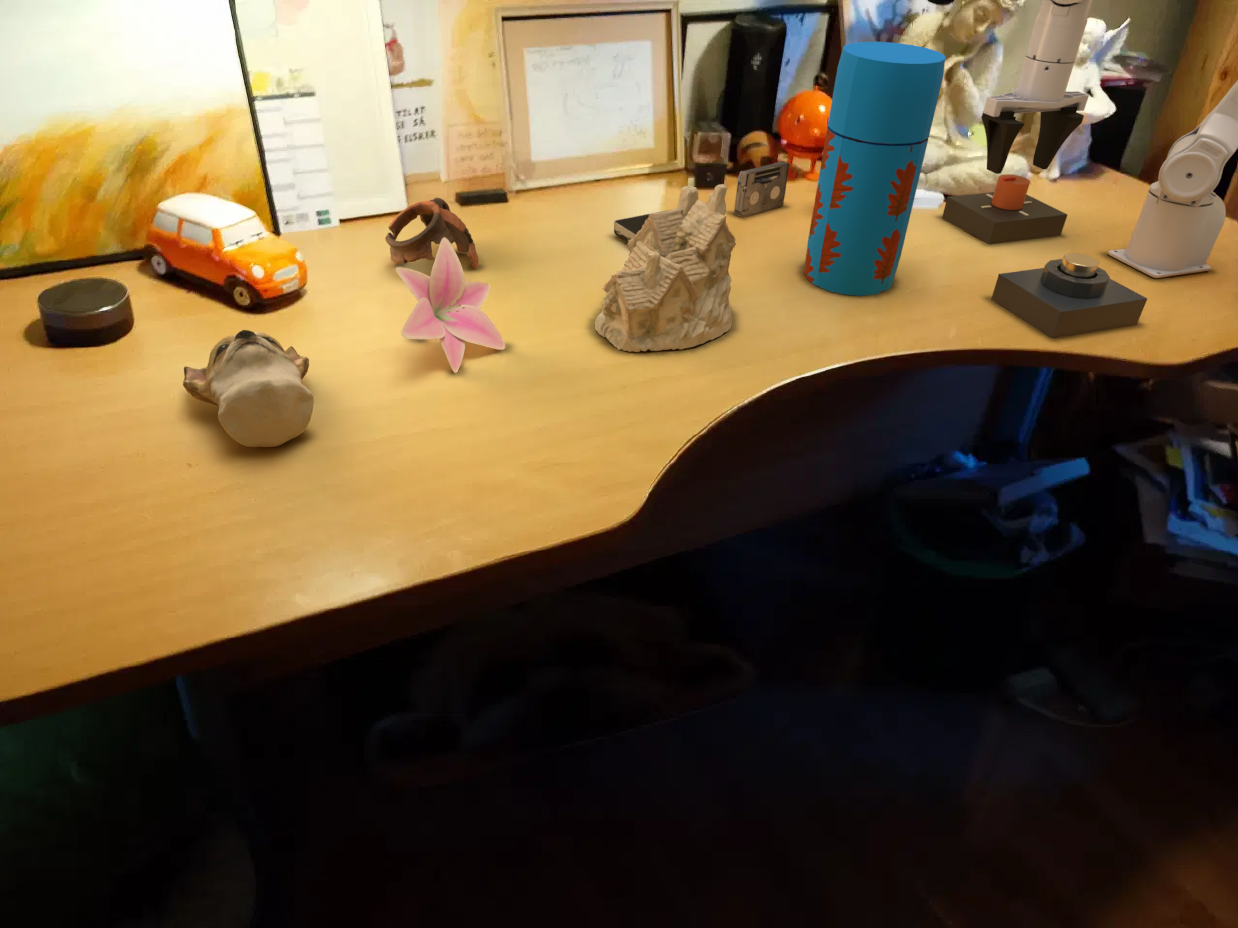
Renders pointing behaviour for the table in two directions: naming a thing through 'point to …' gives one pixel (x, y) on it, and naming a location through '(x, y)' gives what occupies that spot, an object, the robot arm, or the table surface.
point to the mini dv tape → (761, 189)
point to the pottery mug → (429, 232)
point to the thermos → (871, 164)
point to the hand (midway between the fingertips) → (1016, 169)
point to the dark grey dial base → (1003, 218)
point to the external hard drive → (630, 226)
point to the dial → (1010, 192)
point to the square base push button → (1067, 300)
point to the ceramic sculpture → (254, 389)
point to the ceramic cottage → (673, 279)
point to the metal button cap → (1079, 266)
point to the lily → (449, 307)
